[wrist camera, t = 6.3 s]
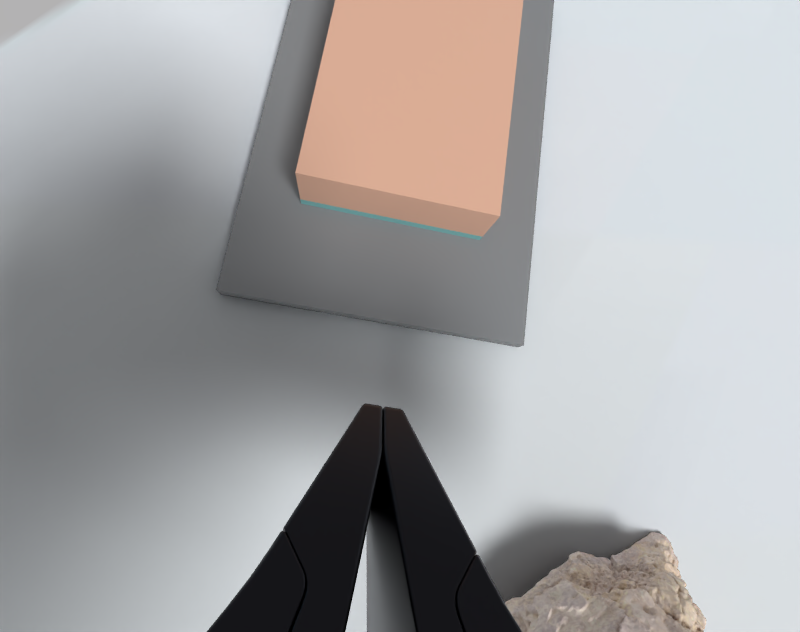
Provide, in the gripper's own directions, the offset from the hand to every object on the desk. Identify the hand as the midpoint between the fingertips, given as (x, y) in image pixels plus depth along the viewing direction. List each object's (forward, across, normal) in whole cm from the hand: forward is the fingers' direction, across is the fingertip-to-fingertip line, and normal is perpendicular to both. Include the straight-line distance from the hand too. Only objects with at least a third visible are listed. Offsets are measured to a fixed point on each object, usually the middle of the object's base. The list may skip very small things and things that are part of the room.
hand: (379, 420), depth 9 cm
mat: (+16, 0, -4) cm, 16 cm away
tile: (+11, 0, -1) cm, 11 cm away
